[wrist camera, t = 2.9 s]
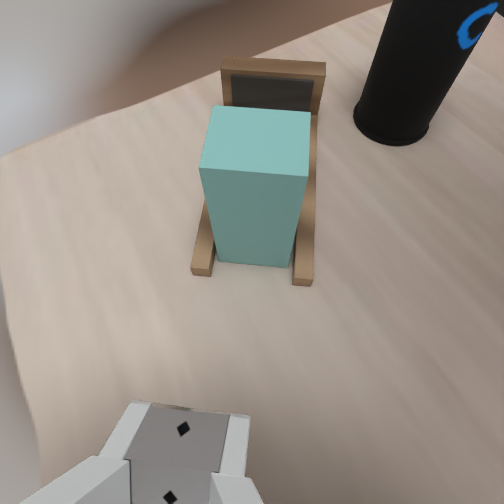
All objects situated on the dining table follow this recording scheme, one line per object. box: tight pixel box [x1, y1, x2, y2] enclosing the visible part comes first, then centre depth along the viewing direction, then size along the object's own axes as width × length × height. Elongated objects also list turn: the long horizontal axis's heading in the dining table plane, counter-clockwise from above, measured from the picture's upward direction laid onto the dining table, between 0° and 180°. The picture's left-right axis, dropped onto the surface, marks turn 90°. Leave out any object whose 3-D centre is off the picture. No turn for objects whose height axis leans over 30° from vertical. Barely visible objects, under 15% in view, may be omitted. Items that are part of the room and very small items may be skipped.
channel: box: [190, 56, 326, 286], centre depth 30 cm, size 21×10×6 cm, turn 174°
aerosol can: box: [354, 0, 502, 145], centre depth 28 cm, size 8×8×20 cm
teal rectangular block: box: [199, 105, 311, 268], centre depth 24 cm, size 5×6×12 cm
